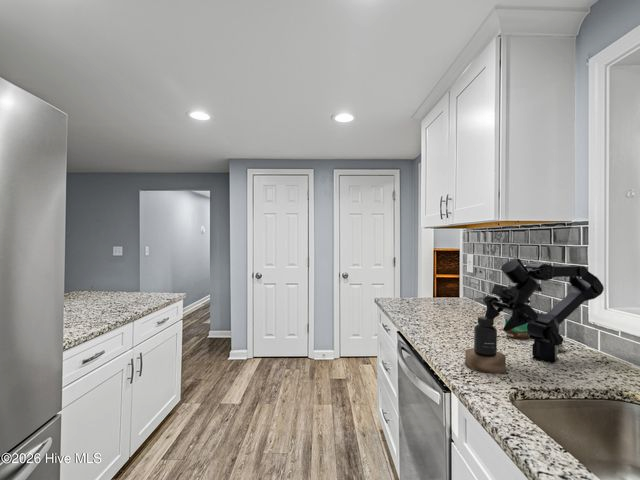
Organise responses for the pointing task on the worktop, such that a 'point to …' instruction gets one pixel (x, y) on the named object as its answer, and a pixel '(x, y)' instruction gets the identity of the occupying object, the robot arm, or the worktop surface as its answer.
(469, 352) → the walnut plinth
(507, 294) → the robot arm
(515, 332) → the food container
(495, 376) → the worktop surface
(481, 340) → the supplement bottle
